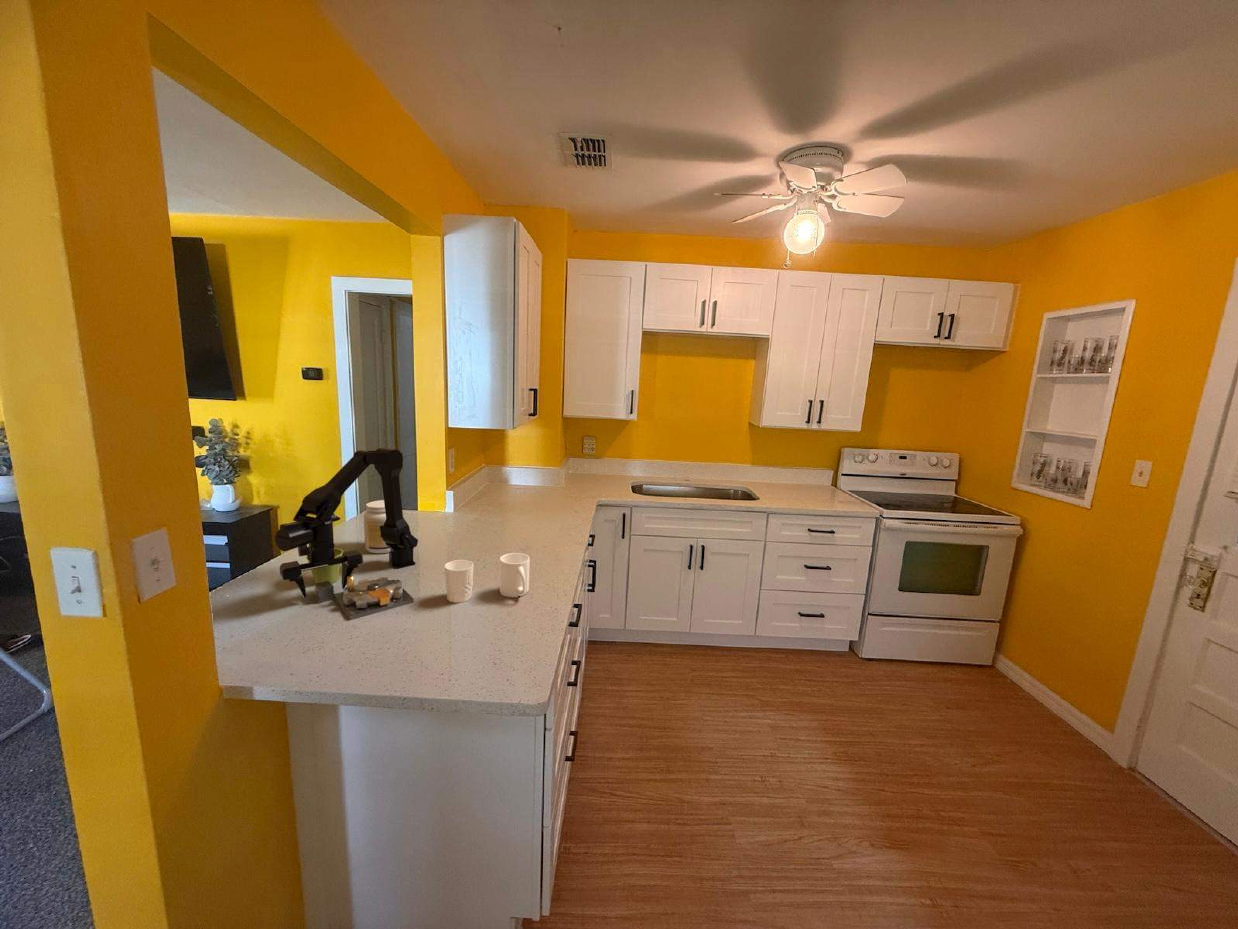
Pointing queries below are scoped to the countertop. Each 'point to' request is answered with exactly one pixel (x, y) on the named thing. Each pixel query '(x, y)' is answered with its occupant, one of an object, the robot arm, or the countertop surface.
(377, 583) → the grey cog wheel
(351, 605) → the base plate
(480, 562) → the countertop surface
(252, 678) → the countertop surface
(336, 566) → the plant pot
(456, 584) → the white cup
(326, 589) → the taupe rectangular block
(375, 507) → the supplement tub
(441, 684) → the countertop surface
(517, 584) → the mug
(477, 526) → the countertop surface
